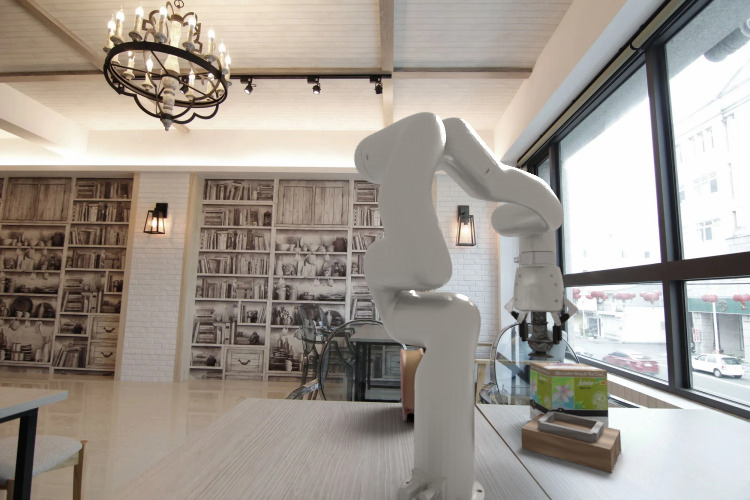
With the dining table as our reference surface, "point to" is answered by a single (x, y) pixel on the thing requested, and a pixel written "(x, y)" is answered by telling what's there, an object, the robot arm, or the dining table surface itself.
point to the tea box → (569, 390)
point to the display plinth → (573, 439)
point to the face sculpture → (409, 379)
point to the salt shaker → (540, 337)
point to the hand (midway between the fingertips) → (540, 341)
